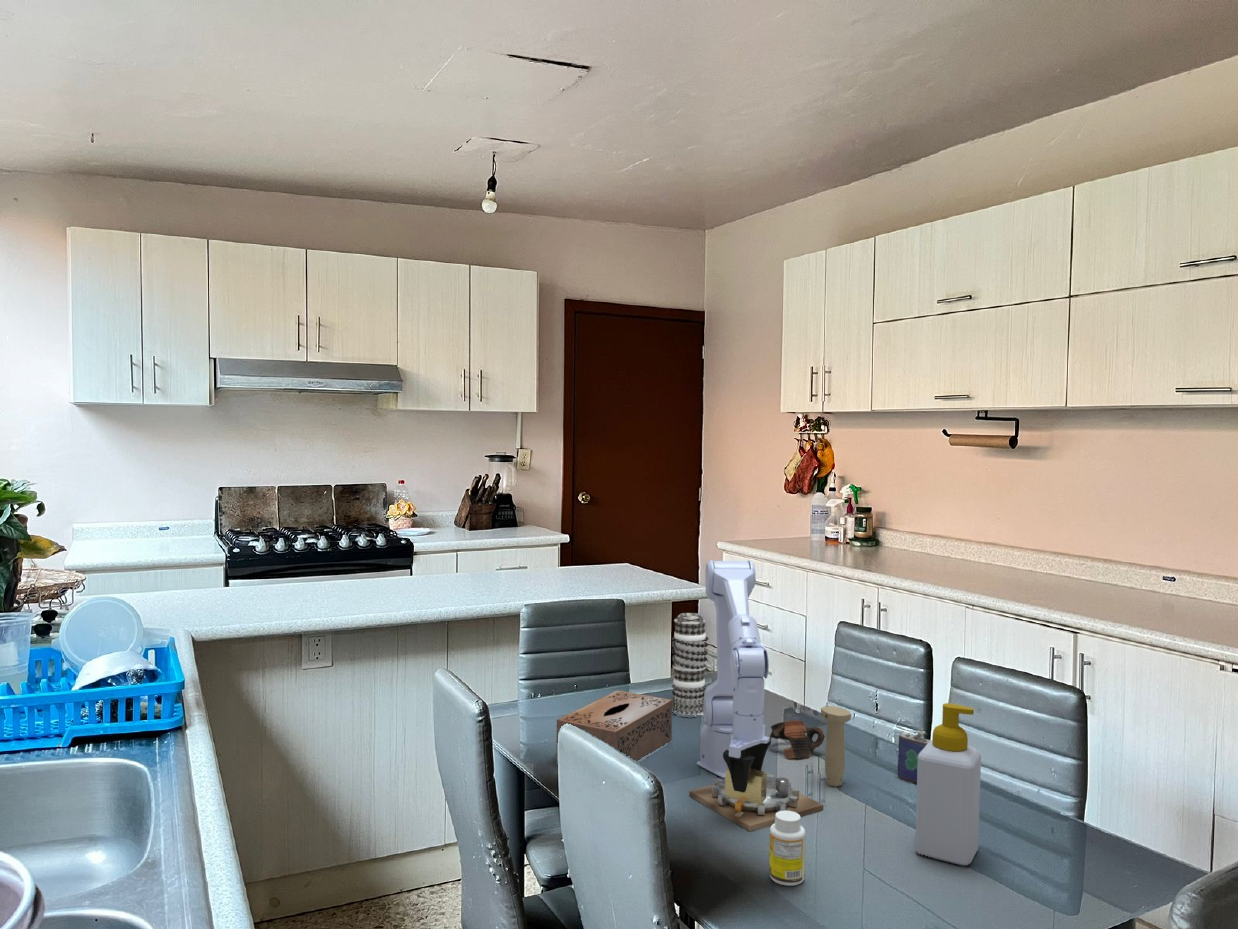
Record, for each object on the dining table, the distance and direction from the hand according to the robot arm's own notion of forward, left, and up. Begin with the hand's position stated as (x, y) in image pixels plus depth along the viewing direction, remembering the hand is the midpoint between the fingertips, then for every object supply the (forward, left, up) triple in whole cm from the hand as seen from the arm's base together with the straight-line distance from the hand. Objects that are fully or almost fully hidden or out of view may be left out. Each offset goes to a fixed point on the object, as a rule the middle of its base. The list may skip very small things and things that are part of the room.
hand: (746, 784), depth 167 cm
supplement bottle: (+23, -11, -6) cm, 26 cm away
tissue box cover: (-38, -5, -6) cm, 39 cm away
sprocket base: (-2, +4, -5) cm, 7 cm away
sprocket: (-2, +4, -4) cm, 6 cm away
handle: (-1, +24, -6) cm, 25 cm away
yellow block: (0, 0, -3) cm, 3 cm away
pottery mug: (-19, +30, -6) cm, 36 cm away
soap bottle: (+30, +19, -6) cm, 36 cm away
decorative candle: (-53, +26, -6) cm, 60 cm away
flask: (+7, +40, -6) cm, 41 cm away
